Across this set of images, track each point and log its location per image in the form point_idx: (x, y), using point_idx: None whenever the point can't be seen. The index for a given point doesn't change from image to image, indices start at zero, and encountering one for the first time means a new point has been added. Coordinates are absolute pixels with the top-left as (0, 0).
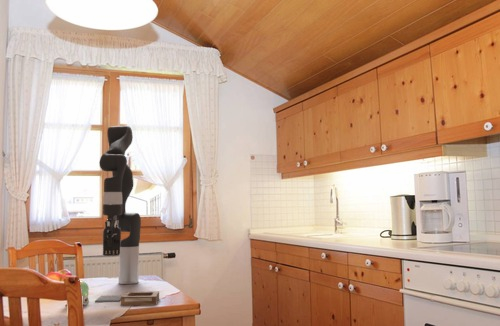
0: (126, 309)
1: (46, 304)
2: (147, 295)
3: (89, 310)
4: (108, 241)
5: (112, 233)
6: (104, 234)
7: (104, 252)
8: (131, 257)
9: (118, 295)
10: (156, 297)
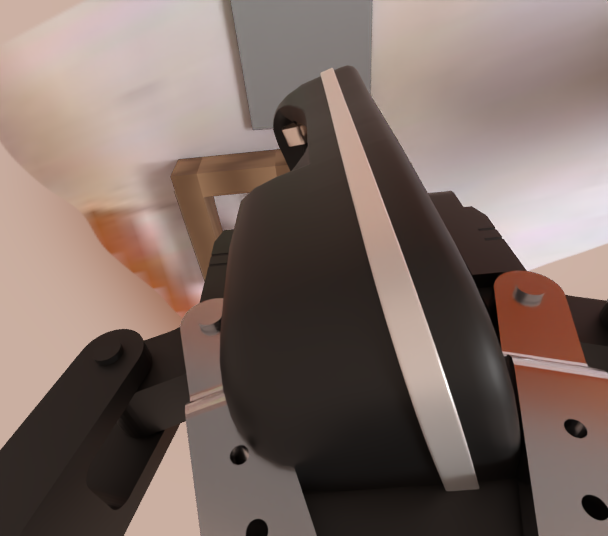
0: (116, 204)
1: None
2: None
3: (33, 36)
4: (210, 272)
5: (154, 436)
6: (227, 285)
7: (291, 117)
8: None
9: (367, 89)
10: None
